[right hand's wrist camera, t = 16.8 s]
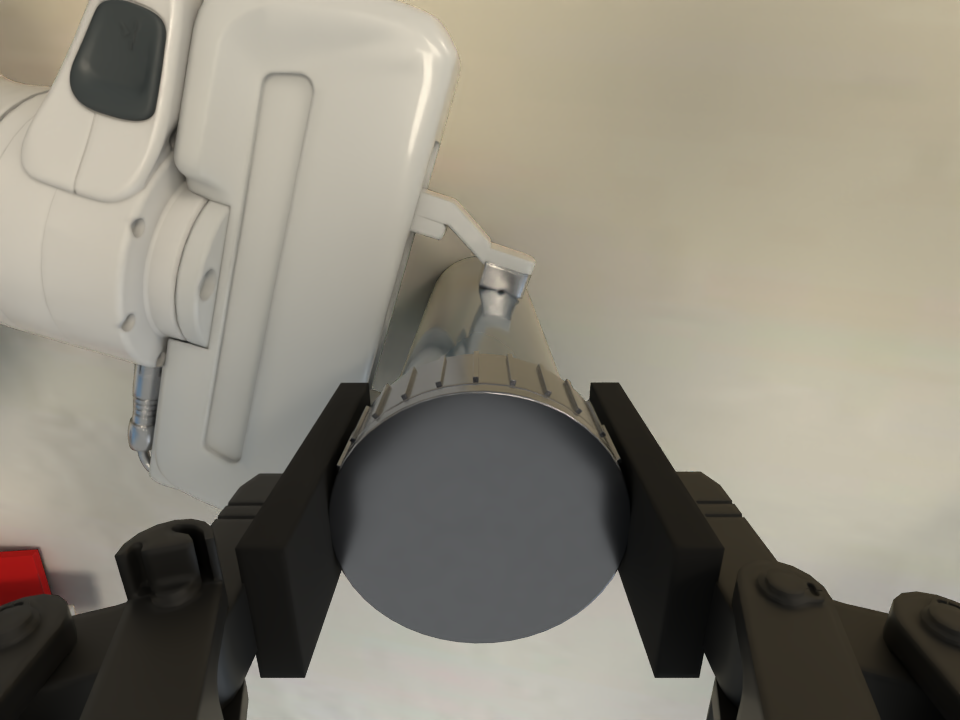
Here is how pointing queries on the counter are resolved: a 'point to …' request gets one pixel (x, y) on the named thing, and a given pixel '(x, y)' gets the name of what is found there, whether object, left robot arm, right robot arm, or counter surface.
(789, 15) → the counter surface
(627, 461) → the right robot arm
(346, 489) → the lid
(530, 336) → the jar
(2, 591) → the toy
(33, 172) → the left robot arm
